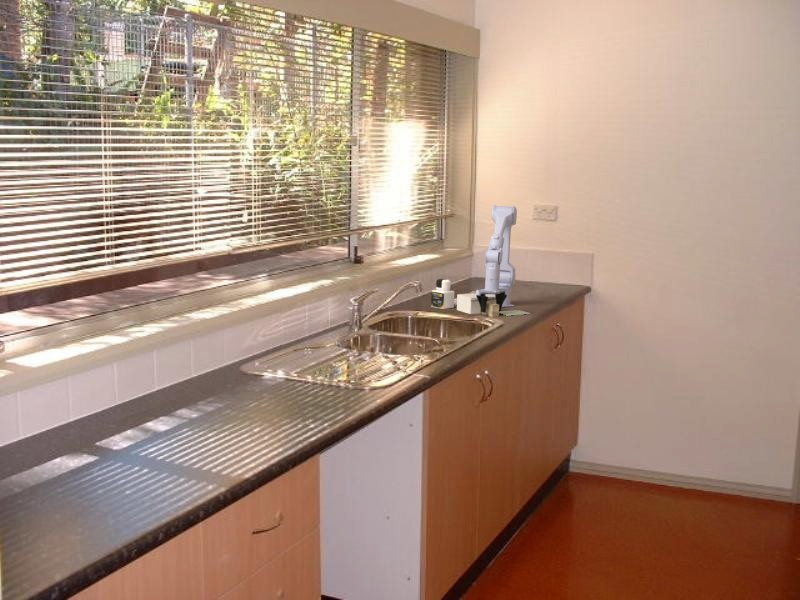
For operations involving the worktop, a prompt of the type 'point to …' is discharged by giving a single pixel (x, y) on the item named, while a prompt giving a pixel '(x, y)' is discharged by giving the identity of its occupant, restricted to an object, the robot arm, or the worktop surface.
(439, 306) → the medicine bottle
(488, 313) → the wooden block
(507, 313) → the mat
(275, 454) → the worktop surface
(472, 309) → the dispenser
